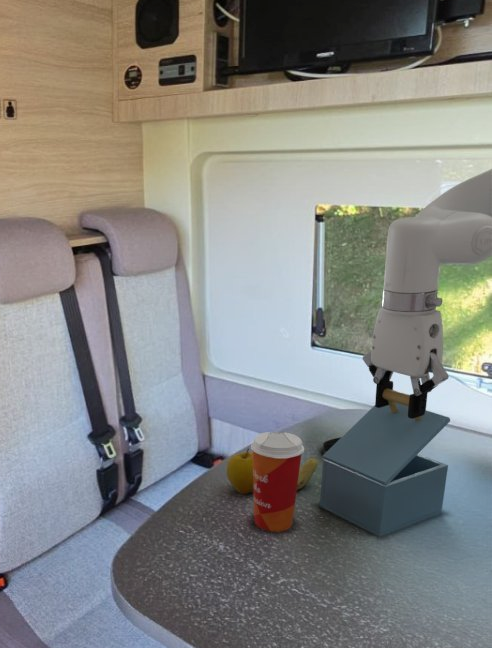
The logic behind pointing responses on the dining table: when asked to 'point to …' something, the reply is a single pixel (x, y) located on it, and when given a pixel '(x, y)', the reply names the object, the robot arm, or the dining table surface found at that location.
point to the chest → (385, 495)
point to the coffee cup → (275, 479)
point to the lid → (385, 439)
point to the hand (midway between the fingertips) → (399, 410)
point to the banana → (306, 472)
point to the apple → (241, 472)
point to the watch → (330, 443)
